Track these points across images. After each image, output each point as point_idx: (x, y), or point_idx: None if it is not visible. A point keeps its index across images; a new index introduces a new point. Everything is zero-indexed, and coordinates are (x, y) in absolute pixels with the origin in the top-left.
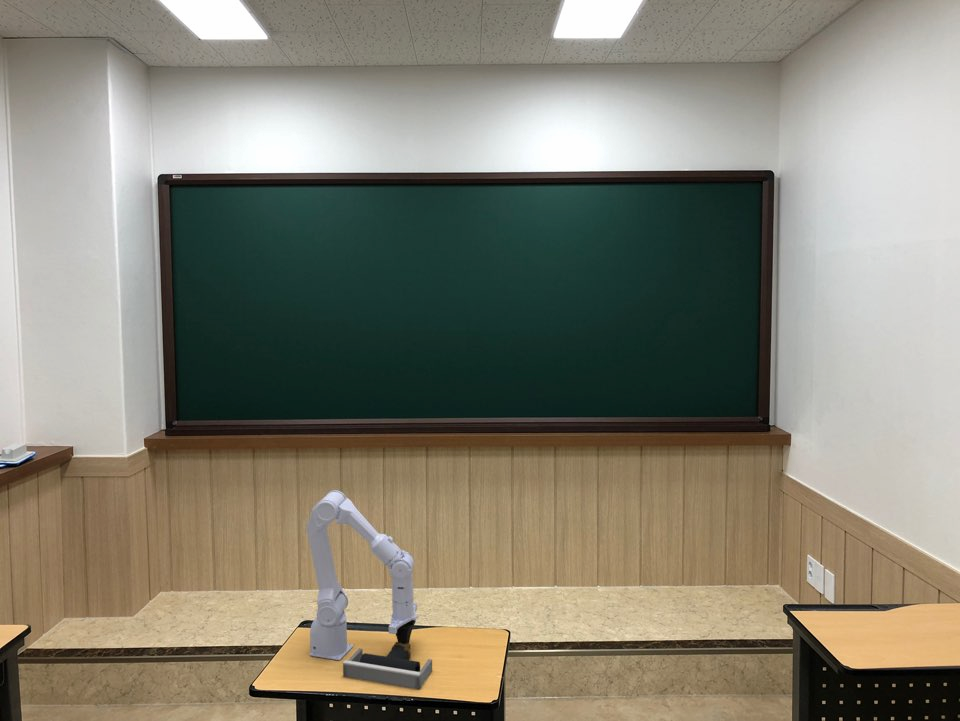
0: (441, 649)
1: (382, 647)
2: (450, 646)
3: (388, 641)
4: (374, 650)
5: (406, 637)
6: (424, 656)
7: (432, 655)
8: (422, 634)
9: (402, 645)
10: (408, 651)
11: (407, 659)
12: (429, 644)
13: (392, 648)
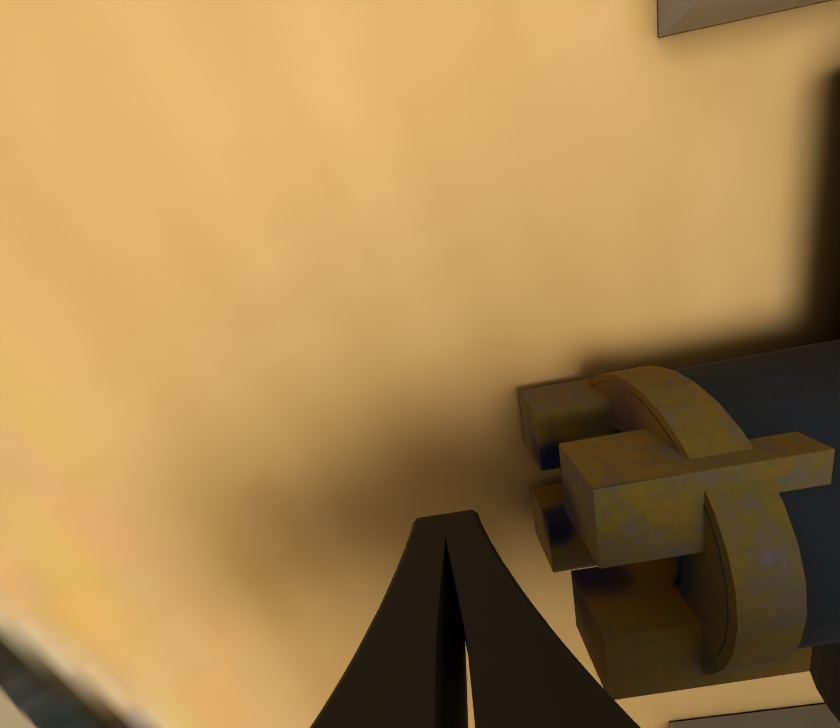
0: (146, 172)
1: None
2: (10, 96)
3: None
4: None
5: (571, 658)
6: (392, 280)
7: (326, 201)
8: (39, 535)
9: (787, 568)
10: (706, 409)
11: (678, 368)
12: (147, 370)
13: (805, 649)
